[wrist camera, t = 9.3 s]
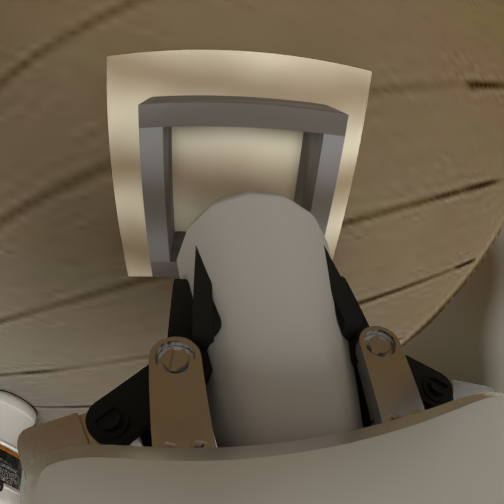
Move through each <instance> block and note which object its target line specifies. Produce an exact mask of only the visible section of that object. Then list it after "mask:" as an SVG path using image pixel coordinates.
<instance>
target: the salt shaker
mask: <svg viewBox="0 0 504 504" xmlns="http://www.w3.org/2000/svg"><path fill="white" fill-rule="evenodd" d="M196 246H197V249H198V251H199V254H200V256H201V259H202V261H203V263H204V266H205V268H206V271H207V273H208V275H209V278H210V280H211V283H212V299H213V301H214V303H215V306H216V308H217V311H218V313H219V315H220V318H221V324H222V326H221V329H220V331H219V332H218V334H217V335H216V336H214V342H213V343H212V344H210V346H209V348H208V349H207V352H208V355H209V359H210V362H211V365H212V369H213V370H212V373H211V376H210V379H209V381H208V383H207V385H206V392H207V398H208V404H209V410H210V416H211V422H212V428H213V432H214V436H215V439H216V443H217V446H218V447H237V446H251V445H263V444H273V443H282V442H290V441H297V440H304V439H310V438H316V437H322V436H328V435H333V434H338V433H343V432H348V431H352V430H357V429H361V428H363V423H362V416H361V409H360V402H359V395H358V389H357V382H356V376H355V370H354V367H353V365H352V363H351V359H350V352H349V344H348V341H347V340H346V339H345V338H343V336H342V334H341V331H340V328H339V325H338V322H337V319H336V314H335V306H334V300H333V296H332V292H331V287H330V280H329V274H328V267H327V261H326V255H325V249H324V246H325V248H326V250H327V251H328V253H329V255H330V251H329V247H328V243H327V241H326V239H325V236H324V234H323V232H322V230H321V228H320V226H319V224H318V222H317V220H316V219H315V217H314V216H313V215H312V214H311V213H310V212H309V211H307V210H306V209H304V208H303V207H301V206H300V205H298V204H297V203H295V202H294V201H292V200H291V199H289V198H288V197H286V196H285V195H283V194H278V193H272V192H253V191H247V192H244V193H240V194H237V195H229V196H223V197H221V198H219V199H217V200H216V201H214V202H213V203H212V204H210V205H209V206H208V207H207V208H206V209H205V210H204V211H203V212H202V213H201V214H200V215H199V216H198V217H197V218H196V219H195V220H194V221H193V222H192V223H191V224H190V226H189V228H188V230H187V232H186V235H185V237H184V240H183V243H182V246H181V249H180V251H179V254H178V257H177V265H178V271H179V277H180V279H187V280H188V281H189V284H190V288H191V292H192V296H193V289H194V268H195V251H196ZM330 257H331V255H330Z"/></svg>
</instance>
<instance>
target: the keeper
mask: <svg viewBox="0 0 504 504" xmlns="http://www.w3.org/2000/svg"><path fill="white" fill-rule="evenodd" d="M371 74H372V71H368V70H364V69H360V68H355V67H351V66H346V65H342V64H337V63H332V62H326V61H321V60H315V59H309V58H303V57H296V56H288V55H280V54H271V53H260V52H247V51H229V50H172V51H154V52H142V53H132V54H123V55H115V56H107V110H108V130H109V145H110V157H111V168H112V177H113V186H114V194H115V202H116V209H117V216H118V222H119V229H120V235H121V240H122V246H123V252H124V257H125V262H126V267H127V272H128V276H153V277H179V271H178V265H177V257H178V254H179V251H180V249H181V246H182V243H183V240H184V237H185V235H186V232H187V230H188V228H189V226H190V224H191V223H192V222H193V221H194V220H195V219H196V218H197V217H198V216H199V215H200V214H201V213H202V212H203V211H204V210H205V209H206V208H207V207H208V206H209V205H210V204H212V203H213V202H214V201H216V200H217V199H219V198H221V197H223V196H229V195H237V194H240V193H244V192H247V191H253V192H272V193H278V194H283V195H285V196H286V197H288V198H289V199H291V200H292V201H294V202H295V203H297V204H298V205H300V206H301V207H303V208H304V209H306V210H307V211H309V212H310V213H311V214H312V215H313V216H314V217H315V219H316V220H317V222H318V224H319V226H320V228H321V230H322V232H323V234H324V236H325V239H326V241H327V243H328V247H329V251H330V255H331V259H332V260H333V256H334V253H335V249H336V245H337V241H338V238H339V234H340V230H341V226H342V222H343V218H344V214H345V210H346V205H347V201H348V197H349V193H350V188H351V184H352V179H353V175H354V170H355V165H356V160H357V155H358V150H359V145H360V140H361V135H362V130H363V124H364V118H365V113H366V107H367V101H368V94H369V88H370V81H371Z"/></svg>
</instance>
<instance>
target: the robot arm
mask: <svg viewBox="0 0 504 504" xmlns="http://www.w3.org/2000/svg"><path fill="white" fill-rule="evenodd" d="M324 249H325V255H326V261H327V267H328V274H329V280H330V287H331V292H332V296H333V300H334V306H335V314H336V319H337V322H338V325H339V328H340V331H341V334H342V336H343V338H345V339H346V340H347V341H348V344H349V352H350V359H351V363H352V365H353V367H354V370H355V376H356V382H357V389H358V395H359V402H360V409H361V416H362V423H363V428H361V429H357V430H352V431H348V432H343V433H338V434H333V435H328V436H322V437H316V438H310V439H304V440H297V441H290V442H282V443H273V444H263V445H251V446H237V447H216V445H215V439H214V433H213V428H212V422H211V416H210V410H209V404H208V398H207V392H206V385H207V383H208V381H209V379H210V376H211V373H212V370H213V369H212V365H211V362H210V359H209V355H208V352H207V349H208V348H209V346H210V344H212V343H213V342H214V336H216V335H217V334H218V332H219V331H220V329H221V326H222V324H221V318H220V315H219V313H218V311H217V308H216V306H215V303H214V301H213V299H212V283H211V280H210V278H209V275H208V273H207V271H206V268H205V266H204V263H203V261H202V259H201V256H200V254H199V251H198V249H197V246H196V251H195V268H194V289H193V296H192V292H191V288H190V284H189V281H188V280H187V279H174V283H173V291H172V300H171V309H170V319H169V329H168V338H165V339H163V340H161V341H159V342H158V343H156V344H155V345H154V346H153V348H152V349H151V351H150V355H149V365H147V366H146V367H145V368H143V369H142V370H140V371H139V372H138V373H136V374H135V375H134V376H132V377H131V378H129V379H128V380H127V381H125V382H124V383H122V384H121V385H119V386H118V387H117V388H115V389H114V390H112V391H111V392H110V393H108V394H107V395H105V396H104V397H102V398H101V399H100V400H98V401H97V402H95V403H94V404H93V405H92V406H91V407H90V408H89V410H88V412H87V413H85V414H82V415H78V413H75V414H72V415H69V416H66V417H62V418H59V419H56V420H53V421H49V422H46V423H42V424H39V425H36V426H32V427H29V428H27V429H25V430H23V431H22V432H21V434H20V435H19V437H18V440H17V449H18V454H19V458H20V462H21V465H22V469H23V472H24V476H25V479H26V482H25V485H24V490H23V495H22V502H21V504H504V393H497V392H495V391H494V390H493V389H491V388H490V387H487V386H482V385H476V384H471V383H466V382H460V381H455V380H452V381H451V382H450V381H449V380H448V379H447V378H446V376H444V375H443V374H441V373H440V372H438V371H436V370H434V369H432V368H430V367H428V366H426V365H424V364H422V363H420V362H418V361H416V360H414V359H412V358H410V357H409V356H407V355H405V354H404V352H403V349H402V346H401V344H400V342H399V340H398V338H397V336H396V335H395V334H394V333H393V332H391V331H390V330H388V329H386V328H383V327H380V326H371V327H369V325H368V323H367V321H366V319H365V316H364V314H363V312H362V310H361V308H360V306H359V304H358V302H357V300H356V299H355V297H354V295H353V293H352V291H351V289H350V287H349V285H348V283H347V281H346V279H345V278H344V277H342V276H340V274H339V272H338V271H337V269H336V267H335V265H334V263H333V261H332V259H331V257H330V255H329V253H328V251H327V250H326V248H325V246H324Z"/></svg>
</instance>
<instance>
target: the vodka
mask: <svg viewBox="0 0 504 504" xmlns="http://www.w3.org/2000/svg"><path fill="white" fill-rule="evenodd" d="M35 421H36V412H35V410H34V409H33V408H32V407H31V406H30V405H29V404H28V403H27V402H26V401H24V400H23V399H21V398H19V397H18V396H16V395H14V394H11V393H9V392H5V391H0V504H20V494H21V493H20V484H21V477H22V470H23V469H22V465H21V462H20V458H19V454H18V449H17V440H18V437H19V435H20V434H21V432H22V431H23V430H25V429H27V428H29V427H32V426H33V425H34V424H35Z"/></svg>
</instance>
